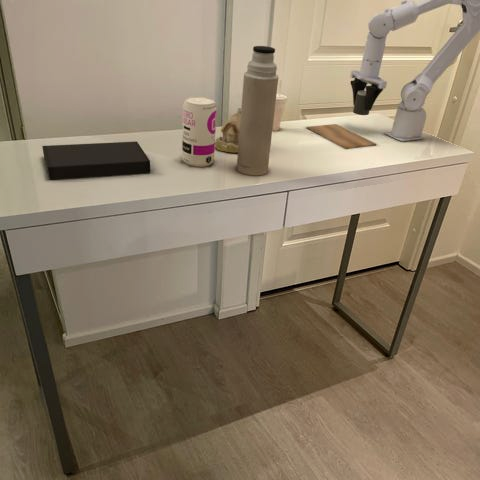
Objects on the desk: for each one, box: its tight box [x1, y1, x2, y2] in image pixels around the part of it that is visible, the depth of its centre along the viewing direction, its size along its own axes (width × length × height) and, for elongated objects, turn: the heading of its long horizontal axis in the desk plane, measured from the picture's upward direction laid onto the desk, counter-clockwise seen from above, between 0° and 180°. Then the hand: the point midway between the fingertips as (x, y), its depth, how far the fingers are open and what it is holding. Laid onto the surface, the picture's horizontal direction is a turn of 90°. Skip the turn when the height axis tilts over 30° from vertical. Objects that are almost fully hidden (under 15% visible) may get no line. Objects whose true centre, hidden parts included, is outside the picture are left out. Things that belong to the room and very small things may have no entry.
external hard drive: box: [41, 140, 151, 180], centre depth 121 cm, size 14×23×3 cm, turn 112°
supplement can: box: [181, 96, 218, 168], centre depth 125 cm, size 8×8×15 cm
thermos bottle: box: [236, 45, 279, 176], centre depth 120 cm, size 8×8×28 cm
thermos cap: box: [352, 90, 371, 116], centre depth 157 cm, size 5×5×6 cm
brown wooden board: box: [306, 123, 377, 150], centre depth 157 cm, size 12×20×1 cm, turn 29°
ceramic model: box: [215, 107, 241, 153], centre depth 139 cm, size 14×11×10 cm
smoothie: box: [272, 80, 288, 132], centre depth 153 cm, size 6×6×14 cm
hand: (361, 107), depth 158 cm, fingers closed on thermos cap, 5 cm apart
